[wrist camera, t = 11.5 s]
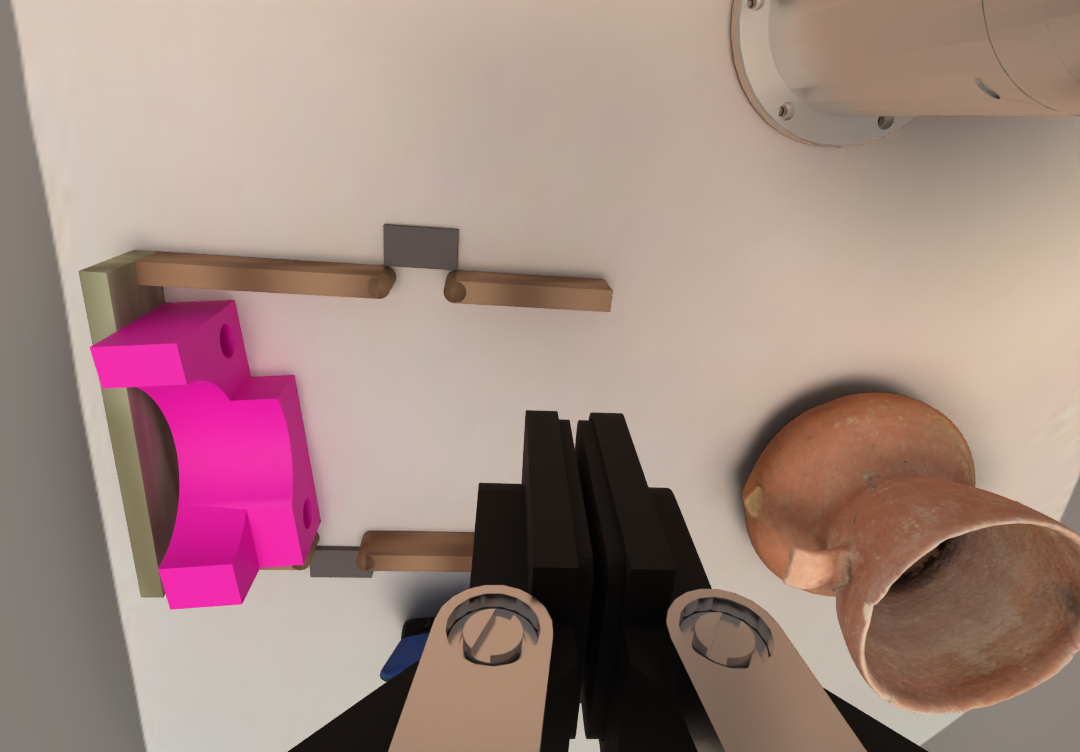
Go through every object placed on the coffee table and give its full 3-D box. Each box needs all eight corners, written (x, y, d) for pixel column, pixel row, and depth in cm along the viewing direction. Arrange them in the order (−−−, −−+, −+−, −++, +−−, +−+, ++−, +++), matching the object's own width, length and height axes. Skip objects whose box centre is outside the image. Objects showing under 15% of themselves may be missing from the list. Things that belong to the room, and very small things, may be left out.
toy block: (321, 520, 41) (289, 600, 34) (223, 526, 41) (170, 609, 34) (281, 297, 36) (233, 340, 29) (166, 301, 35) (89, 347, 28)
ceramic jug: (689, 550, 45) (775, 730, 32) (745, 361, 39) (877, 482, 26) (918, 568, 47) (1086, 742, 34) (999, 392, 42) (1235, 517, 29)
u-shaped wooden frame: (604, 279, 37) (622, 303, 32) (571, 548, 44) (581, 599, 39) (133, 250, 34) (78, 271, 29) (179, 543, 41) (141, 597, 36)
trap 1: (372, 547, 42) (371, 550, 42) (372, 573, 43) (371, 577, 43) (310, 546, 42) (308, 550, 41) (312, 573, 43) (310, 577, 42)
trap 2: (458, 229, 35) (458, 230, 34) (457, 268, 36) (456, 270, 35) (384, 224, 34) (383, 225, 34) (385, 264, 35) (383, 265, 35)
